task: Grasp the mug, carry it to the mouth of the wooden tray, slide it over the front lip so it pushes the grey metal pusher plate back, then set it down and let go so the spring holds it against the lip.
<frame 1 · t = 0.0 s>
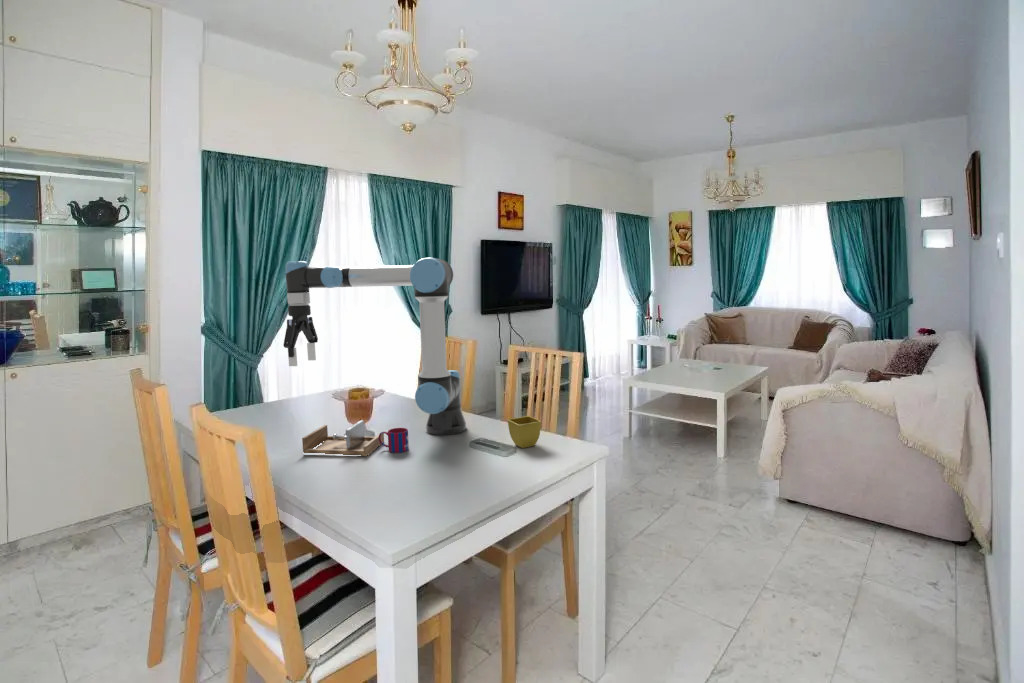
hand: (302, 363, 197), 28 cm above the table, fingers open, 13 cm apart
flower pot: (524, 446, 186), on the table
wooden tray: (345, 448, 186), on the table
pusher: (345, 435, 186), point 5 cm above the table, slide at 0.0 cm
mug: (394, 450, 184), on the table
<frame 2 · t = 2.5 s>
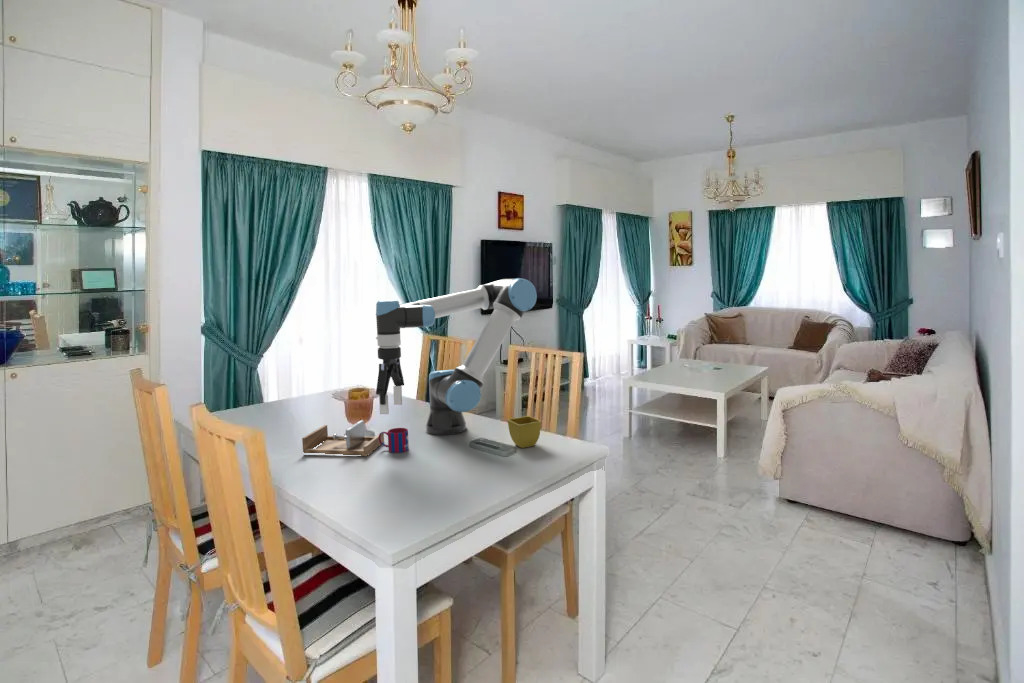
hand: (391, 409, 182), 14 cm above the table, fingers open, 13 cm apart
nothing on the table moved.
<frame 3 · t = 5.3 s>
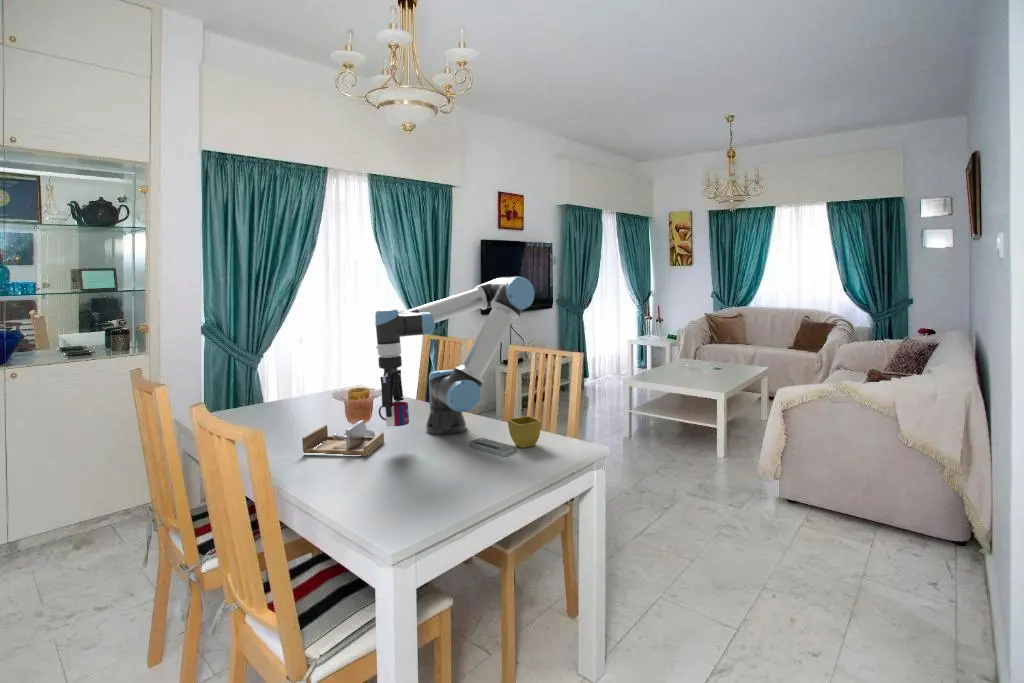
hand: (394, 422, 183), 9 cm above the table, fingers closed on mug, 7 cm apart
mug: (394, 424, 183), point 9 cm above the table, touching gripper
everything else where it was.
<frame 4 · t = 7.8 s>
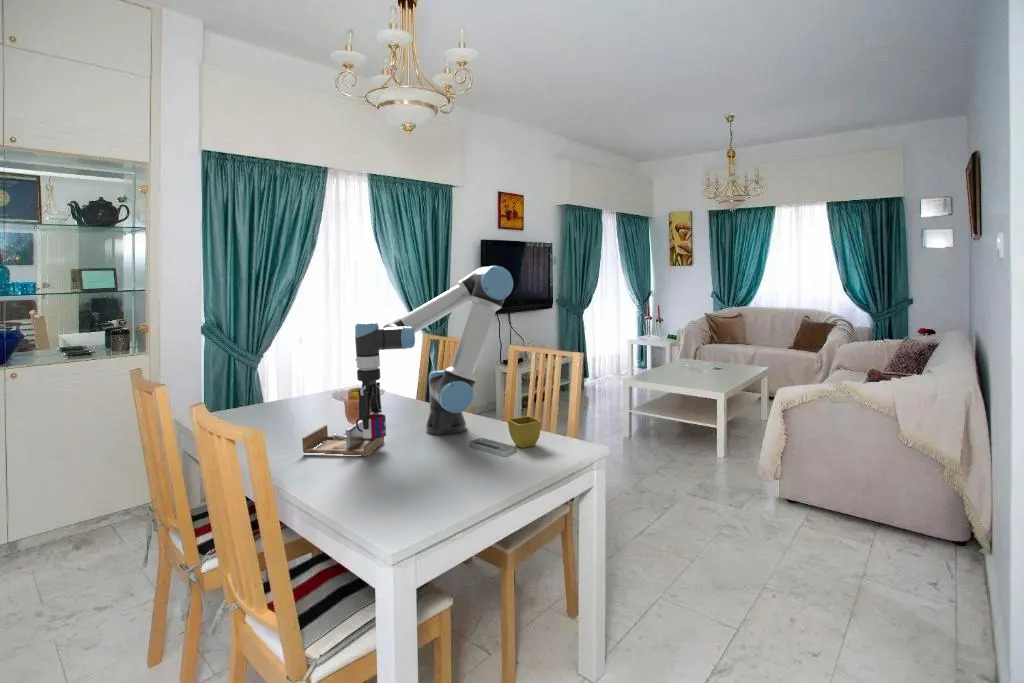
hand: (371, 434, 184), 5 cm above the table, fingers closed on mug, 7 cm apart
mug: (371, 436, 184), point 5 cm above the table, touching gripper
everything else where it was.
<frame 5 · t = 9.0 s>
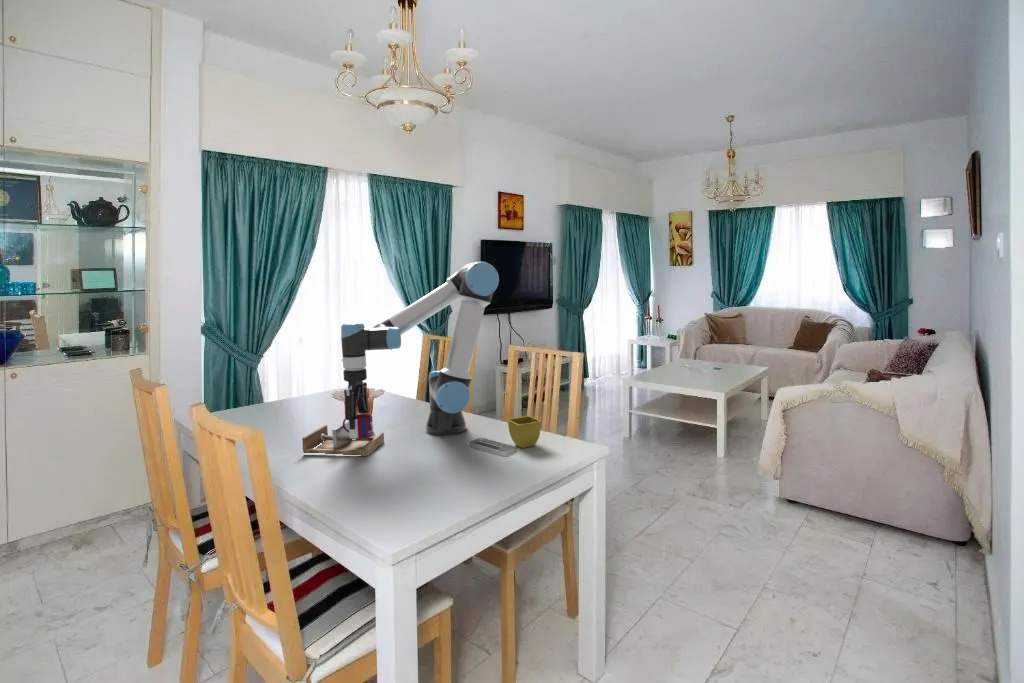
hand: (358, 434, 185), 5 cm above the table, fingers closed on mug, 7 cm apart
pusher: (332, 434, 186), point 5 cm above the table, slide at 4.6 cm
mug: (358, 436, 185), point 4 cm above the table, touching gripper
everything else where it was.
when the fingers open (2 cm above the table, at t = 10.3 s): mug stays where it is, resting on wooden tray.
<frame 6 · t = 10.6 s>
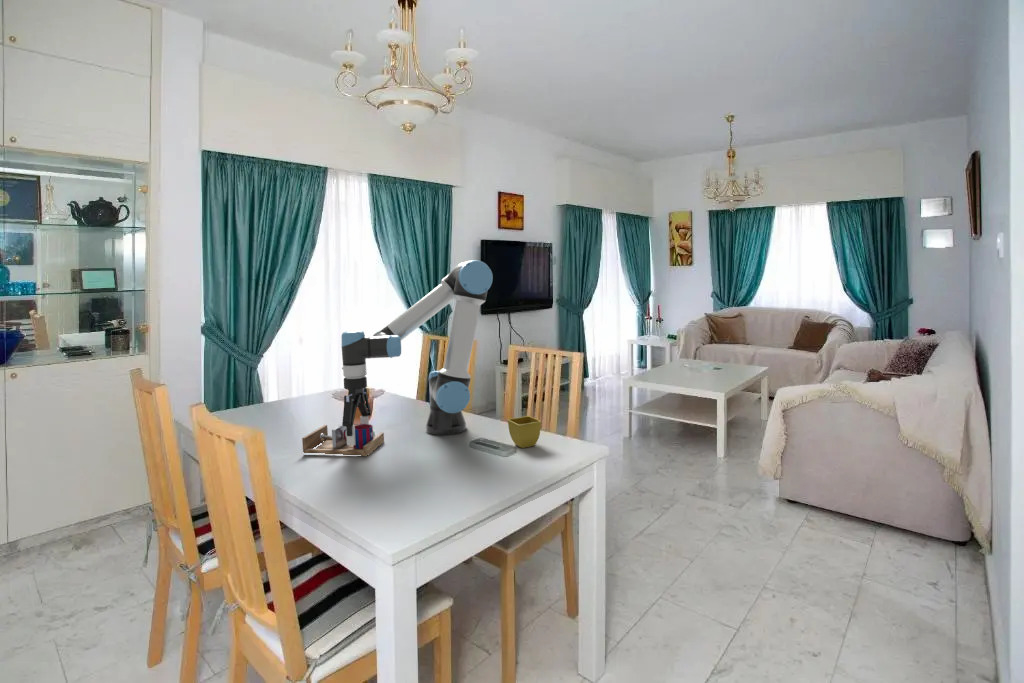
hand: (358, 439, 185), 3 cm above the table, fingers open, 11 cm apart
mug: (359, 446, 186), point 1 cm above the table, touching wooden tray
everything else where it was.
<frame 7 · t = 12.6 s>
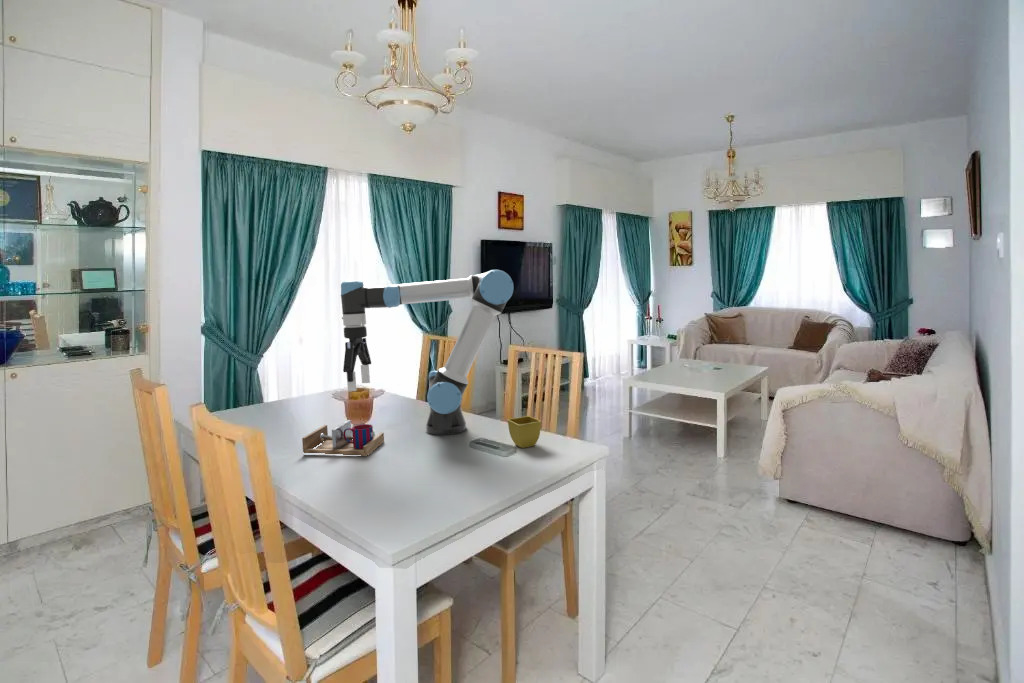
hand: (359, 386, 188), 21 cm above the table, fingers open, 13 cm apart
nothing on the table moved.
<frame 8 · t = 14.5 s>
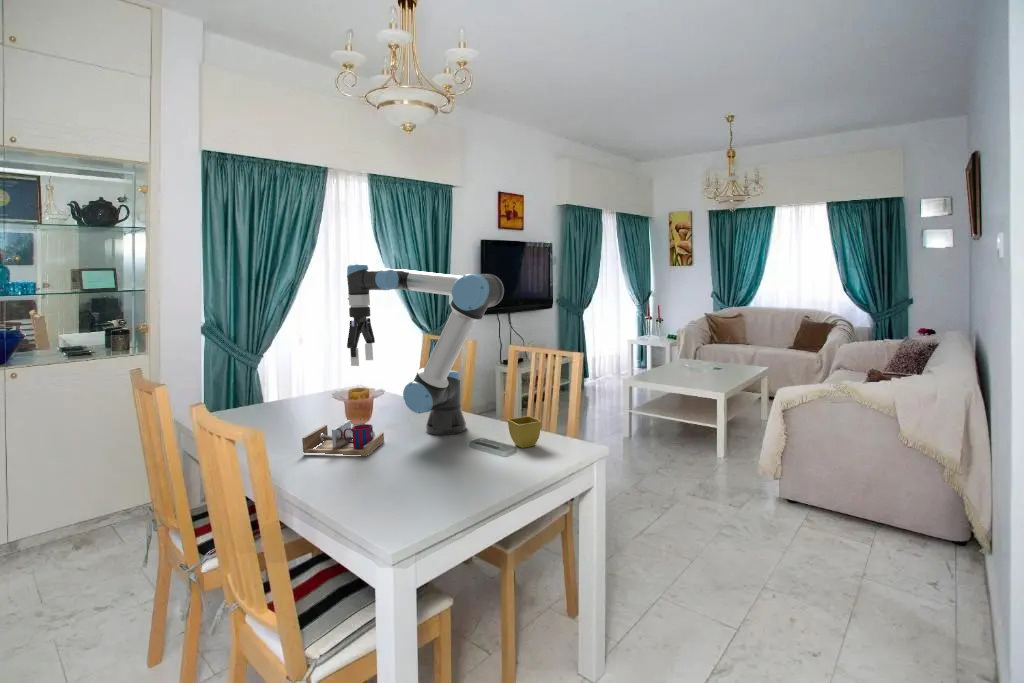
hand: (362, 363, 203), 27 cm above the table, fingers open, 13 cm apart
nothing on the table moved.
at the end: mug inside the target area on the wooden tray (1.0 cm from its centre), point 0.8 cm above the wooden tray's base; mug tilted 0°; pusher slide at 4.8 cm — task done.
